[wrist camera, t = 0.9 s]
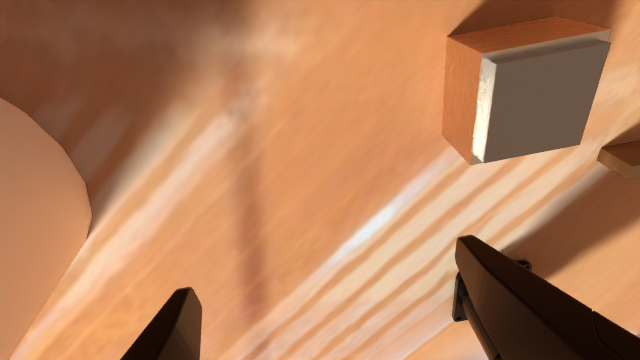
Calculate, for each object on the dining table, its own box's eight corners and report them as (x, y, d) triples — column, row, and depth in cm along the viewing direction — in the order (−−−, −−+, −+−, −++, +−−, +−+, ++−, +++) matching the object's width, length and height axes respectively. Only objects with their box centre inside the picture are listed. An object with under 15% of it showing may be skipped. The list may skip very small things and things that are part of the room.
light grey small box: (531, 116, 22) (585, 149, 18) (440, 133, 22) (475, 170, 18) (552, 15, 19) (623, 31, 15) (445, 35, 19) (488, 57, 15)
